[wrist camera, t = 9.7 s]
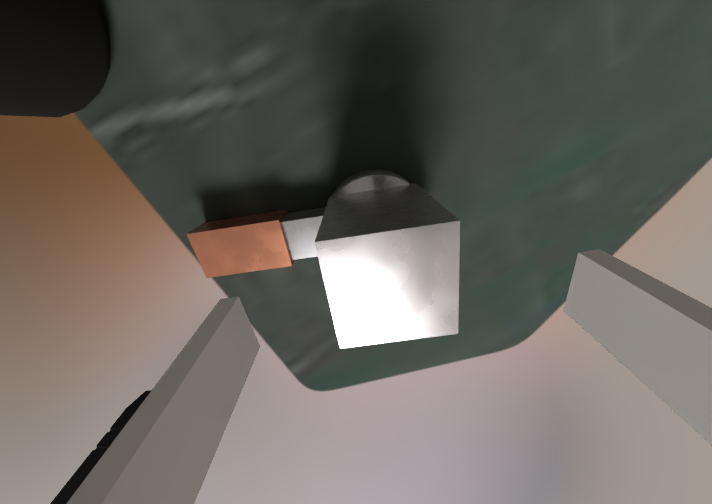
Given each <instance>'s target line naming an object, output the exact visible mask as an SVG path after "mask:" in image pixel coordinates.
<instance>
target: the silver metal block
mask: <svg viewBox="0 0 712 504" xmlns="http://www.w3.org/2000/svg"><path fill="white" fill-rule="evenodd" d="M315 247H316V251H317V255H318V259H319V263H320V267H321V271H322V276H323V280H324V284H325V288H326V292H327V296H328V300H329V305H330V309H331V313H332V317H333V321H334V325H335V329H336V334H337V338H338V342H339V346H340V348H348V347H356V346H364V345H372V344H380V343H388V342H396V341H403V340H411V339H419V338H427V337H435V336H443V335H451V334H458V308H459V251H460V220H459V219H458V218H456V217H455V216H454V215H453V214H452V213H451V212H449V211H448V210H447V209H446V208H445V207H444V206H442V205H441V204H440V203H439V202H438V201H436V200H435V199H434V198H433V197H432V196H431V195H429V194H428V193H427V192H426V191H425V190H424V189H422V188H421V187H420V186H419V185H418V184H417V183H414V184H407V185H401V186H395V187H388V188H382V189H376V190H369V191H363V192H356V193H350V194H344V195H337V196H331V197H329V200H328V203H327V206H326V209H325V212H324V215H323V218H322V221H321V224H320V227H319V230H318V233H317V236H316V239H315Z"/></svg>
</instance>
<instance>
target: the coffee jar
mask: <svg viewBox="0 0 712 504" xmlns="http://www.w3.org/2000/svg"><path fill="white" fill-rule="evenodd" d="M109 69H110V41H109V37H108V34H107V30H106V27H105V23H104V20H103V16H102V13H101V10H100V8H99V6H98V4H97V3H96V1H95V0H0V115H13V116H40V117H41V116H42V117H62V116H64V115H67V114H70V113H73V112H76V111H79V110H81V109H83V108H85V107H86V106H87V105H88V104H89V103H90V102H91V101H92V100H93V99H94V98H95V97H96V96H97V95H98V94H99V93H100V91H101V89H102V88H103V86H104V83H105V80H106V77H107V74H108V71H109Z"/></svg>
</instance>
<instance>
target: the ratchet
mask: <svg viewBox="0 0 712 504" xmlns="http://www.w3.org/2000/svg"><path fill="white" fill-rule="evenodd" d="M407 184H411V183H409V182H408V181H407V180H406V179H405V178H403V177H402V176H401V175H399V174H397V173H394V172H391V171H388V170H383V169H369V170H364V171H361V172H358V173H355V174H353V175H352V176H350V177H348V178H347V179H346V180H344V181H343V182H342V183H341V184H340V185H339V186H338V187H337V189H336V190H335V191H334V193H333V195H332V196H337V195H344V194H350V193H356V192H363V191H369V190H376V189H382V188H388V187H395V186H401V185H407ZM325 209H326V207H323V208H316V209H310V210H303V211H297V212H290V213H288V210H287V209H286V210H280V211H273V212H267V213H260V214H254V215H247V216H241V217H234V218H228V219H221V220H215V221H208V222H205V223H203V224H202V225H200V226H199V227H197V228H195V229H194V230H192V231H191V232H189V233H188V234H187V236H188V238H189V241H190V243H191V245H192V247H193V249H194V251H195V254H196V256H197V258H198V260H199V262H200V264H201V267H202V269H203V271H204V273H205V275H206V277H207V278H210V277H217V276H224V275H231V274H238V273H244V272H251V271H258V270H265V269H272V268H279V267H286V266H292V265H293V262H294V260H296V259H303V258H310V257H317V256H318V255H317V251H316V247H315V239H316V236H317V233H318V230H319V227H320V224H321V221H322V218H323V215H324V212H325Z"/></svg>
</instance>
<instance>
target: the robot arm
mask: <svg viewBox="0 0 712 504" xmlns="http://www.w3.org/2000/svg"><path fill="white" fill-rule="evenodd" d="M564 312H566V313H567V314H568V315H569V316H570V317H571V318H572V319H573V320H575V322H576V323H578V324H579V325H580V326H581V327H582V328H583V329H584V330H585V331H586V332H588V333H589V334H590V335H591V336H592V337H593V338H594V339H595V340H597V342H598V343H600V344H601V345H602V346H603V347H604V348H605V349H606V350H607V351H608V352H609V353H610V354H612V355H613V356H614V357H615V358H616V359H617V360H618V361H619V362H620V363H621V364H623V365H624V366H625V367H626V368H627V369H628V370H629V371H630V372H631V373H633V374H634V375H635V376H636V377H637V378H638V379H639V380H640V381H641V382H642V383H643V384H644V385H646V386H647V387H648V388H649V389H650V390H651V391H652V392H653V393H654V394H655V395H657V396H658V397H659V398H660V399H661V400H662V401H663V402H664V403H665V404H666V405H668V406H669V407H670V408H671V409H672V410H673V411H674V412H675V413H677V415H678V416H680V417H681V418H682V419H683V420H684V421H685V422H686V423H687V424H688V425H689V426H691V427H692V428H693V429H694V430H695V431H696V432H697V433H698V434H700V436H702V437H703V438H704V439H705V440H706V441H707V442H708V443H709V444H710V445H711V446H712V308H710V307H708V306H706V305H705V304H703V303H701V302H699V301H697V300H695V299H693V298H691V297H689V296H687V295H686V294H684V293H682V292H680V291H678V290H676V289H674V288H672V287H670V286H668V285H666V284H665V283H662V282H661V281H659V280H657V279H655V278H653V277H651V276H649V275H648V274H645V273H644V272H642V271H640V270H638V269H636V268H634V267H632V266H630V265H628V264H627V263H625V262H623V261H621V260H619V259H617V258H615V257H613V256H611V255H610V254H608V253H606V252H604V251H602V250H593V251H585V252H578V256H577V260H576V264H575V268H574V272H573V276H572V280H571V283H570V287H569V291H568V295H567V299H566V303H565V307H564ZM259 347H260V345H259V343H258V340H257V338H256V336H255V334H254V331H253V329H252V326H251V324H250V322H249V319H248V317H247V315H246V313H245V310H244V308H243V306H242V303H241V301H240V299H239V297H233V298H225V299H220V300H219V302H218V303H217V305H216V306H215V307H214V309H213V310H212V311H211V312H210V314H209V315H208V317H207V318H206V319H205V320H204V322H203V323H202V324H201V326H200V327H199V328H198V330H197V331H196V333H195V334H194V335H193V336H192V338H191V339H190V340H189V342H188V343H187V344H186V346H185V347H184V348H183V350H182V351H181V352H180V354H179V355H178V356H177V358H176V359H175V360H174V362H173V363H172V364H171V366H170V367H169V368H168V370H167V371H166V372H165V374H164V375H163V376H162V378H161V379H160V380H159V381H158V383H157V384H156V385H155V387H154V388H153V389H152V390H151V391H145V392H144V393H143V394H142V395H141V396H140V397H139V398H137V399H136V400H135V401H134V402H133V403H132V404H131V405H129V406H128V407H127V408H126V409H125V411H124V412H123V413H122V414H121V416H120V417H119V418H118V419H117V421H116V422H115V423H114V424H113V426H112V427H111V428H110V429H111V430H110V432H107V433H106V434H105V436H104V437H103V438H102V439H101V441H100V442H99V443H98V444H97V448H96V449H95V450H93V451H92V452H91V453H90V455H89V456H88V457H87V458H86V460H85V461H84V462H83V463H82V465H81V466H80V467H79V469H78V470H77V471H76V472H75V473H74V475H73V476H72V477H71V479H70V480H69V481H68V482H67V483H66V485H65V486H64V487H63V488H62V490H61V491H60V492H59V494H58V495H57V496H56V497H55V499H54V500H53V501H52V502H51V504H194V502H195V500H196V498H197V495H198V493H199V490H200V488H201V486H202V483H203V480H204V479H205V476H206V474H207V471H208V469H209V467H210V464H211V462H212V460H213V457H214V455H215V452H216V450H217V448H218V445H219V442H220V440H221V438H222V436H223V433H224V431H225V429H226V426H227V424H228V421H229V419H230V417H231V414H232V412H233V409H234V407H235V405H236V402H237V400H238V397H239V395H240V393H241V390H242V388H243V385H244V383H245V381H246V379H247V376H248V374H249V372H250V369H251V367H252V364H253V362H254V360H255V357H256V355H257V352H258V350H259Z"/></svg>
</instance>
